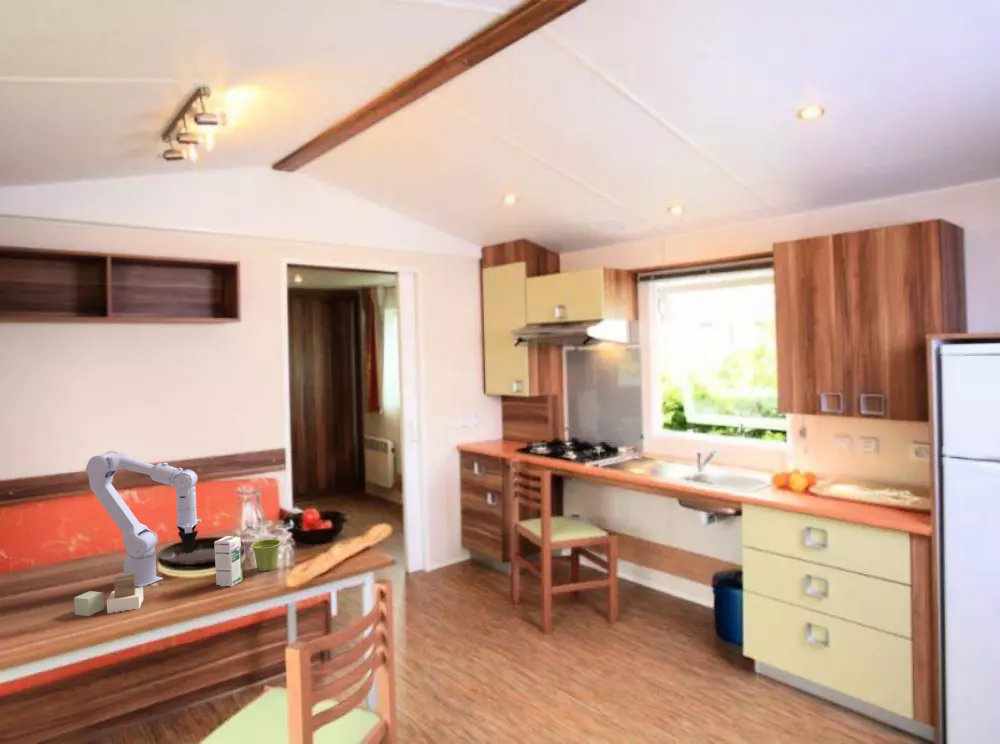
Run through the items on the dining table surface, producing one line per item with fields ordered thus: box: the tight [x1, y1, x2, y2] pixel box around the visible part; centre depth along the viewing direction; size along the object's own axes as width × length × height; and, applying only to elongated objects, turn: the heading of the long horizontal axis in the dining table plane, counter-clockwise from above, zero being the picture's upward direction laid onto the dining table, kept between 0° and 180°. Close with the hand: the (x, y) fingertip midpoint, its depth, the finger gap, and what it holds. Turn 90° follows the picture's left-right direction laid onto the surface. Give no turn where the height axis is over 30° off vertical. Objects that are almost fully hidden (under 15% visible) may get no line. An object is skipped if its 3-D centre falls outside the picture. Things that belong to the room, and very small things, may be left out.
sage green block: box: [73, 590, 105, 617], centre depth 185 cm, size 5×5×5 cm
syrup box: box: [213, 535, 244, 588], centre depth 206 cm, size 6×6×14 cm
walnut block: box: [113, 573, 136, 598], centre depth 189 cm, size 5×5×5 cm
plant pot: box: [250, 538, 282, 572], centre depth 219 cm, size 9×9×9 cm
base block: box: [106, 586, 144, 614], centre depth 189 cm, size 8×8×4 cm
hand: (188, 549), depth 209 cm, fingers open, 7 cm apart
